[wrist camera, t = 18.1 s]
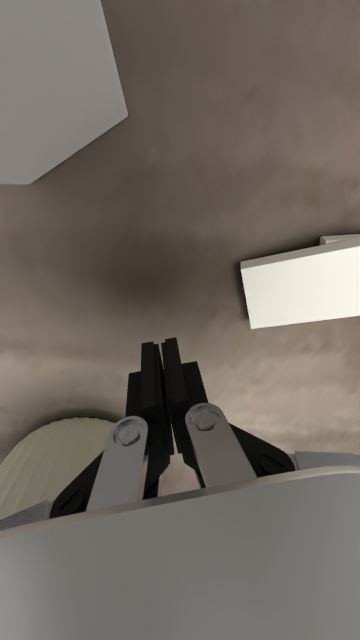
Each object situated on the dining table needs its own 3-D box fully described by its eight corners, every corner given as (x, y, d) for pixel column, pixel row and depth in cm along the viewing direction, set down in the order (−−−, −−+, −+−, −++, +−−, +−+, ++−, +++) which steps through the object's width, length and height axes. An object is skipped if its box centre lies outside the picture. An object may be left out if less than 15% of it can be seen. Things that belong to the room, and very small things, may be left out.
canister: (-51, 409, 22) (-1023, 1516, 4) (156, 368, 23) (201, 1145, 4) (35, 516, 31) (-132, 1018, 12) (184, 485, 31) (240, 917, 13)
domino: (240, 269, 18) (396, 239, 15) (240, 261, 19) (383, 232, 17) (251, 328, 20) (387, 312, 18) (250, 318, 22) (377, 301, 19)
